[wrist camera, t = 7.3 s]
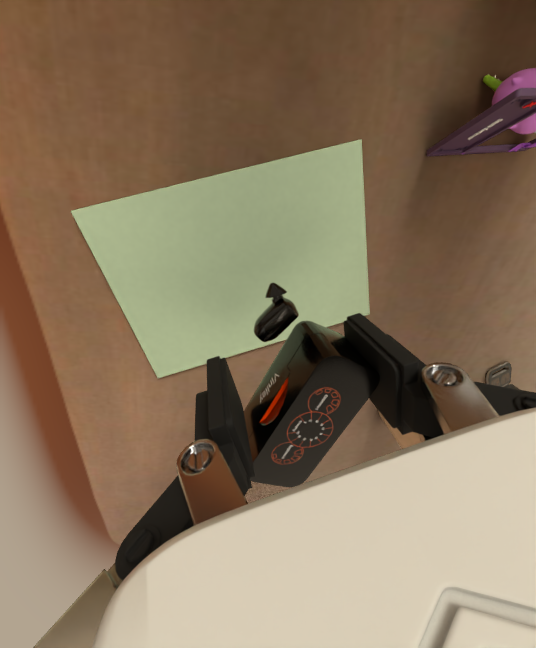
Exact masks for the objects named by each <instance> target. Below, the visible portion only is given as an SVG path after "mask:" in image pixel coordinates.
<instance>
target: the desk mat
mask: <svg viewBox="0 0 536 648" xmlns="http://www.w3.org/2000/svg"><path fill="white" fill-rule="evenodd" d="M71 213H72V215H73V217H74V219H75V220H76V222H77V224H78V226H79V228H80V230H81V232H82V234H83V236H84V238H85V240H86V242H87V243H88V245H89V247H90V249H91V251H92V253H93V255H94V257H95V259H96V261H97V263H98V264H99V266H100V268H101V270H102V272H103V274H104V276H105V278H106V280H107V282H108V284H109V286H110V287H111V289H112V291H113V293H114V295H115V297H116V299H117V301H118V303H119V305H120V307H121V309H122V310H123V312H124V314H125V316H126V318H127V320H128V322H129V324H130V326H131V328H132V330H133V331H134V333H135V335H136V337H137V339H138V341H139V343H140V345H141V347H142V349H143V351H144V353H145V354H146V356H147V358H148V360H149V362H150V364H151V366H152V368H153V370H154V372H155V374H156V375H157V377H158V378H161V377H164V376H167V375H171V374H174V373H177V372H181V371H184V370H187V369H190V368H194V367H197V366H200V365H204V364H207V359H210V358H214V357H217V356H220V358H221V359H222V358H227V357H230V356H233V355H237V354H240V353H243V352H247V351H250V350H253V349H256V348H260V347H263V346H266V345H270V344H273V343H276V342H280V341H283V340H286V339H287V338H288V336H289V335H290V333H291V331H292V330H293V328H294V327H295V325H296V324H297V323H299V322H301V321H312V322H314V323H317V324H319V325H321V326H324V327H329V326H332V325H336V324H339V323H342V322H344V321H346V320H347V317H348V316H351V315H354V314H358V313H360V314H362V315H363V316H365V315H369V314H370V311H369V290H368V268H367V246H366V225H365V203H364V181H363V160H362V140H361V139H360V140H356V141H352V142H348V143H344V144H340V145H336V146H332V147H328V148H324V149H320V150H316V151H311V152H307V153H303V154H299V155H295V156H291V157H287V158H283V159H279V160H275V161H271V162H267V163H263V164H259V165H255V166H251V167H247V168H243V169H238V170H234V171H230V172H226V173H222V174H218V175H214V176H210V177H206V178H202V179H198V180H194V181H190V182H186V183H182V184H178V185H174V186H170V187H165V188H161V189H157V190H153V191H149V192H145V193H141V194H137V195H133V196H129V197H125V198H121V199H117V200H113V201H109V202H105V203H101V204H97V205H93V206H88V207H84V208H80V209H76V210H72V211H71ZM270 283H276V284H278V285H279V286H281V287H282V288H284V289H285V290H286V291H287V293H285V294H283V297H285V298H287V299H289V300H291V301H292V302H293V303H294V304H295V306H296V308H297V311H298V313H299V316H298V317H297V318H296V319H295V320H294V321H293V322H292V323H291V324H290V325H289V326H288V327H287V328H286V329H285V330H284V331H283V332H282V333H281V334H280V335H279V336H278V337H277V338H275V339H274V340H271V341H268V342H262V341H261V340H260V339H259V338H258V337H256V335H255V334H254V325H255V322H256V320H257V318H258V317H259V316H260V315H261V314H262V313H263V312H264V311H265V310H266V309H267V308H268V307H269V306H270V305H271V304H272V300H271V299H272V298H273V297H272V298H265V296H266V292H267V290H268V287H269V285H270Z"/></svg>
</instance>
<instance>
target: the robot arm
mask: <svg viewBox="0 0 536 648" xmlns="http://www.w3.org/2000/svg"><path fill="white" fill-rule="evenodd" d="M344 332H345V338H346V339H347V340H348V341H349V342H350V343H351V344H352V345H353V346H354V347H355V348H356V349H357V350H358V352H359V353H360V354H361V355H362V356H363V357H364V358H365V359H366V360H367V361H368V362H369V363H370V364H371V365H372V366H373V367H374V369H375V370H376V371H377V372H378V373H379V375H380V381H379V384H378V386H377V388H376V389H375V390H374V392H373V393H372V394H371V396H370V397H369V398H370V400H371V401H372V402H373V404H374V405H375V406H376V407H377V409H378V410H379V411H380V413H381V414H382V415H383V416H384V418H385V419H386V420H387V422H388V423H389V424H390V426H391V427H392V428H397V429H398V430H399V431H400V432H401V434H402V435H405V434H407V433H410V432H415V433H418V435H419V438H420V441H421V443H418V444H415V445H412V446H410V447H407V448H404V449H401V450H398V451H395V452H392V453H389V454H387V455H384V456H381V457H378V458H375V459H372V460H369V461H367V462H364V463H361V464H358V465H355V466H352V467H350V468H347V469H344V470H341V471H338V472H335V473H333V474H330V475H327V476H324V477H321V478H319V479H316V480H313V481H310V482H307V483H305V484H302V485H299V486H296V487H293V488H291V489H288V490H285V491H282V492H279V493H277V494H274V495H271V496H268V497H265V498H263V499H260V500H257V501H255V502H252V503H249V504H248V503H247V501H246V499H245V497H244V496H245V494H246V492H247V491H248V489H249V488H252V485H251V479H250V478H252V477H255V472H254V467H253V461H252V456H251V450H250V445H249V439H248V434H247V428H246V422H245V417H244V411H243V407H242V403H241V400H240V397H239V395H238V392H237V389H236V387H235V384H234V381H233V378H232V376H231V373H230V370H229V367H228V365H227V362H226V359H225V358H222V359H221V358H220V356H217V357H214V358H210V359H207V391H204V392H201V393H198V394H197V395H196V414H195V441H194V442H192V443H191V444H189V445H188V446H187V447H185V449H184V450H183V451H182V452H181V453H180V455H179V457H178V459H177V463H176V469H177V473H178V476H177V477H176V479H175V480H174V481H173V482H172V483H171V484H170V486H169V487H168V488H167V489H166V490H165V491H164V493H163V494H162V495H161V496H160V497H159V499H158V500H157V501H156V502H155V503H154V504H153V506H152V507H151V508H150V509H149V510H148V511H147V513H146V514H145V515H144V516H143V517H142V518H141V520H140V521H139V522H138V523H137V524H136V526H135V527H134V528H133V529H132V530H131V531H130V533H129V534H128V535H127V536H126V538H125V539H124V541H123V542H122V544H121V546H120V548H119V550H118V553H117V556H116V561H115V563H114V564H113V566H112V567H111V568H110V569H109V570H108V571H106V570H105V569H104V570H103V571H102V572H101V573H100V574H99V575H98V577H97V578H96V579H95V580H94V581H93V582H92V583H91V584H90V585H89V586H88V587H87V589H86V590H85V591H84V592H83V593H82V594H81V595H80V596H79V597H78V599H77V600H76V601H75V602H74V603H73V604H72V605H71V606H70V607H69V608H68V610H67V611H66V612H65V613H64V614H63V615H62V616H61V617H60V618H59V620H58V621H57V622H56V623H55V624H54V625H53V626H52V627H51V628H50V629H49V631H48V632H47V633H46V634H45V635H44V636H43V637H42V638H41V640H39V642H38V643H37V644H36V645H35V646H34V647H33V648H536V393H534V392H528V391H523V390H517V389H512V388H506V387H501V386H495V385H490V384H484V383H479V382H473V381H472V379H471V378H470V377H469V375H468V374H467V373H466V372H465V371H464V370H463V369H461V368H460V367H458V366H455V365H452V364H449V363H432V364H429V365H425V364H424V363H423V362H422V361H420V360H419V359H418V358H417V357H416V356H414V355H413V354H412V353H411V352H409V351H408V350H407V349H406V348H404V347H403V346H402V345H401V344H400V343H398V342H397V341H396V340H395V339H393V338H392V337H391V336H389V335H386V334H385V333H384V332H383V331H381V330H380V329H379V328H378V327H376V326H375V325H374V324H373V323H372V322H370V321H369V320H368V319H367V318H366V317H364V316H363V315H362V314H360V313H358V314H354V315H351V316H348V317H347V320H346V321H344Z"/></svg>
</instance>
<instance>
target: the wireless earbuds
mask: <svg viewBox="0 0 536 648" xmlns="http://www.w3.org/2000/svg"><path fill="white" fill-rule="evenodd" d="M285 293H287V291H286V290H285V289H284V288H282V287H281V286H279V285H278V284H276V283H270V285H269V287H268V290H267V292H266V296H265V298H272V297H273V298H272V299H271V300H272V304H271V305H270V306H269V307H268V308H267V309H266V310H265V311H264V312H263V313H262V314H261V315H260V316H259V317H258V318H257V320H256V322H255V325H254V334H255V335H256V337H258V338H259V339H260V340H261V341H262V342H268V341H271V340H274V339H275V338H277V337H278V336H279V335H280V334H281V333H282V332H283V331H284V330H285V329H286V328H287V327H288V326H289V325H290V324H291V323H292V322H293V321H294V320H295V319H296V318H297V317H298V316H299V313H298V311H297V308H296V306H295V304H294V303H293V302H292V301H291V300H289V299H287V298H285V297H283V294H285ZM379 381H380V375H379V373H378V372H377V371H376V370H375V369H374V367H373V366H372V365H371V364H370V363H369V362H368V361H367V360H366V359H365V358H364V357H363V356H362V355H361V354H360V353H359V352H358V350H357V349H356V348H355V347H354V346H353V345H352V344H351V343H350V342H349V341H348V340H347V339H346V338H345V337H344V336H343V335H341V334H340V333H337V332H335V331H333V330H330V329H328V328H326V327H324V326H321V325H319V324H317V323H314V322H312V321H301V322H299V323H297V324H296V325H295V327H294V328H293V330H292V331H291V333H290V335H289V336H288V338H287V340H286V341H285V343H284V345H283V346H282V348H281V350H280V351H279V353H278V355H277V357H276V358H275V360H274V362H273V363H272V365H271V367H270V368H269V370H268V372H267V373H266V375H265V377H264V378H263V380H262V382H261V383H260V385H259V387H258V388H257V390H256V392H255V393H254V395H253V397H252V398H251V400H250V402H249V403H248V405H247V407H246V408H245V410H244V417H245V422H246V428H247V434H248V439H249V445H250V450H251V456H252V461H253V467H254V472H255V477H252V478H250V479H251V481H253V482H257V483H264V484H270V485H277V486H283V487H295V486H298V485H300V484H302V483H303V482H304V481H305V480H306V479H307V478H308V477H309V475H310V474H311V473H312V471H313V470H314V469H315V468H316V466H317V465H318V464H319V462H320V461H321V460H322V458H323V457H324V456H325V454H326V453H327V452H328V451H329V449H330V448H331V447H332V445H333V444H334V443H335V441H336V440H337V439H338V437H339V436H340V435H341V434H342V432H343V431H344V430H345V428H346V427H347V426H348V424H349V423H350V422H351V420H352V419H353V418H354V417H355V415H356V414H357V413H358V411H359V410H360V409H361V407H362V406H363V405H364V403H365V402H366V401H367V400H368V398H369V397H370V396H371V394H372V393H373V392H374V390H375V389H376V388H377V386H378V384H379Z"/></svg>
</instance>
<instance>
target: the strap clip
mask: <svg viewBox="0 0 536 648" xmlns="http://www.w3.org/2000/svg"><path fill="white" fill-rule="evenodd" d="M503 367H505V369H504V370H502V371H500V372H498V373H496V374H494V375H492V373H494V372H496V371H498V370H499V369H501V368H503ZM510 381H511V364H510V363H508V362H505V363H503V364H501V365H499V366H497V367H495V368H493V369H491V370H490V371H489V372H488V373H487V376H486V382H487V384H490V385H495V386H501V387H506V388H512V389H517V390H520V389H518V388H517V387H515V386H514V385H512V384H510V385H509V384H508V383H510Z"/></svg>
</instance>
